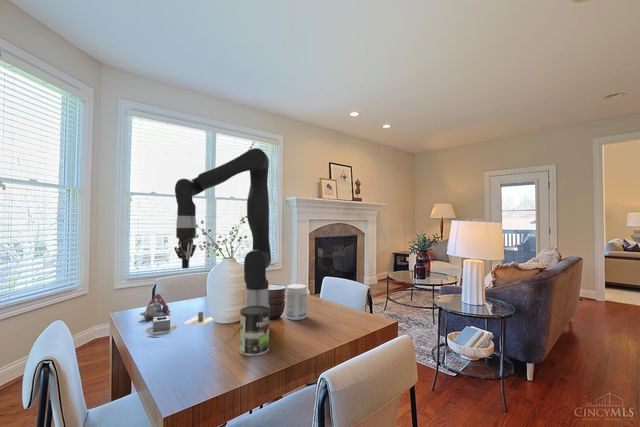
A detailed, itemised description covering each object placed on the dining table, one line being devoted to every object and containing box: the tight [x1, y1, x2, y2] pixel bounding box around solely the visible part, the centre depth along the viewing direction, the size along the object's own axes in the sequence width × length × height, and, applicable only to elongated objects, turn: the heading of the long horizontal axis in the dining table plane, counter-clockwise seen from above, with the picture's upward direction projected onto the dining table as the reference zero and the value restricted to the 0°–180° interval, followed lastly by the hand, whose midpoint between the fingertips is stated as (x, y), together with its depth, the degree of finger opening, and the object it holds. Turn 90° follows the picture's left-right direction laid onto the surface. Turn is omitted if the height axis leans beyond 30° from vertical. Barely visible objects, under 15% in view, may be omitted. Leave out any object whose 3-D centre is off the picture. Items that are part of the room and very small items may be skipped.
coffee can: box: [239, 306, 271, 357], centre depth 108 cm, size 10×10×14 cm
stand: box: [183, 311, 215, 326], centre depth 133 cm, size 10×10×5 cm
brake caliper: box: [139, 293, 172, 321], centre depth 138 cm, size 11×11×12 cm
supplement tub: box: [285, 283, 308, 321], centre depth 143 cm, size 10×10×15 cm
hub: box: [145, 319, 178, 339], centre depth 122 cm, size 11×11×5 cm
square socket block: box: [152, 315, 171, 332], centre depth 122 cm, size 6×6×4 cm
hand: (185, 268), depth 128 cm, fingers closed
